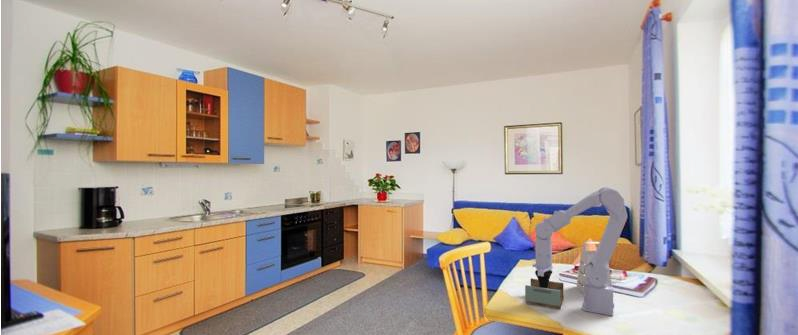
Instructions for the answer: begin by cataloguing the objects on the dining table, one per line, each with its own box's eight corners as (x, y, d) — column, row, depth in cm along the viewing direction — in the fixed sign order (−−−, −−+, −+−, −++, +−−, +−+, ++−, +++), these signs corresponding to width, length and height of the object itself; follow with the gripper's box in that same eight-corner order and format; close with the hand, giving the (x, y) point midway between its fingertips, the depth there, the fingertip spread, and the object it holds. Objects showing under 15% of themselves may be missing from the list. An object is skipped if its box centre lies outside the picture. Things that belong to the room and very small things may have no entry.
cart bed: (563, 299, 140) (563, 282, 140) (560, 309, 131) (560, 291, 131) (531, 294, 146) (531, 278, 146) (526, 303, 137) (525, 286, 137)
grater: (576, 286, 155) (576, 239, 154) (602, 287, 153) (602, 240, 153) (585, 295, 144) (584, 245, 144) (613, 296, 143) (613, 245, 142)
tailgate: (560, 305, 131) (560, 290, 131) (559, 306, 130) (559, 291, 130) (525, 299, 137) (525, 285, 137) (525, 300, 136) (525, 286, 136)
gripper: (535, 248, 145) (536, 282, 145) (528, 257, 132) (529, 294, 133) (554, 250, 141) (555, 285, 142) (549, 259, 129) (549, 297, 129)
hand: (543, 289), depth 137 cm, fingers closed
